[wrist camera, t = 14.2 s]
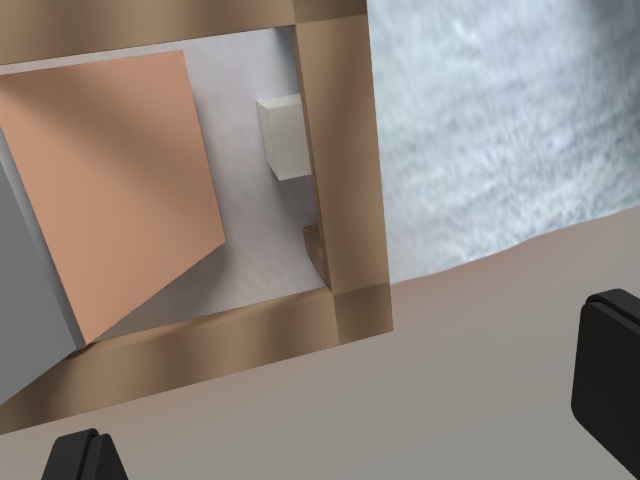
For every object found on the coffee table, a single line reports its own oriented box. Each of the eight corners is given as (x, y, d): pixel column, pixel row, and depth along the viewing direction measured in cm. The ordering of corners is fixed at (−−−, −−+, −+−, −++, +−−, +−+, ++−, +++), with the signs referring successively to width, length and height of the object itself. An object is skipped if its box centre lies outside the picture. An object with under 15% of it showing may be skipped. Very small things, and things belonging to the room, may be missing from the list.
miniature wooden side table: (296, -27, 35) (360, -73, 22) (332, 246, 43) (393, 330, 30) (-86, 18, 30) (-293, -6, 17) (40, 312, 39) (-36, 444, 26)
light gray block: (267, 109, 32) (255, 100, 37) (279, 180, 34) (267, 162, 39) (338, 96, 33) (317, 90, 38) (346, 167, 35) (325, 151, 40)
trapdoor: (137, 56, 33) (183, 49, 32) (185, 238, 39) (226, 241, 37) (-291, 115, 16) (-240, 108, 15) (-98, 424, 22) (-44, 444, 20)
